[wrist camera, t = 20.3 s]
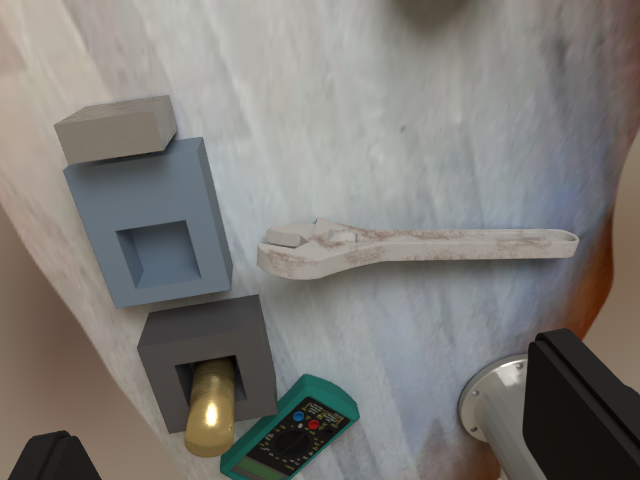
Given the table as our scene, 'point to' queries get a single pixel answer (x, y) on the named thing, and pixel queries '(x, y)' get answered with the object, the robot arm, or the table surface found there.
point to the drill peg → (212, 407)
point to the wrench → (397, 247)
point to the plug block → (117, 130)
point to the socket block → (154, 223)
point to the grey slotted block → (209, 356)
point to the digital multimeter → (291, 432)
